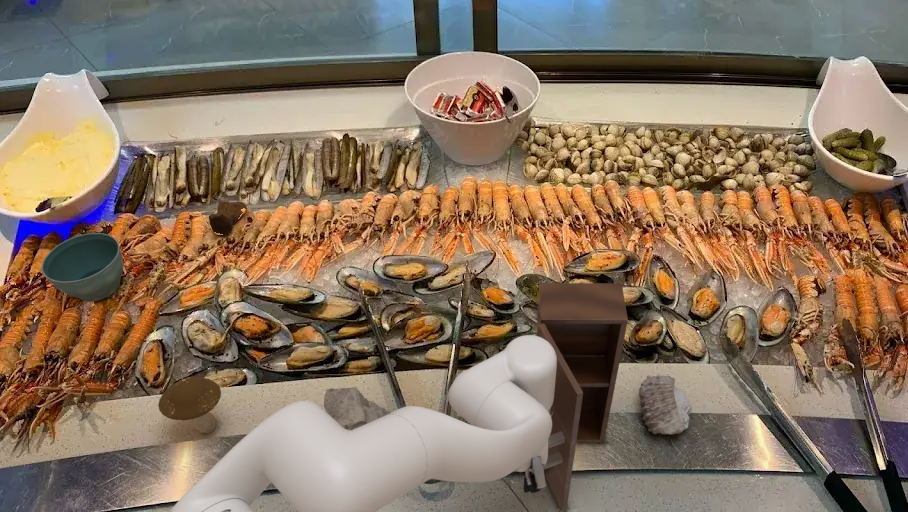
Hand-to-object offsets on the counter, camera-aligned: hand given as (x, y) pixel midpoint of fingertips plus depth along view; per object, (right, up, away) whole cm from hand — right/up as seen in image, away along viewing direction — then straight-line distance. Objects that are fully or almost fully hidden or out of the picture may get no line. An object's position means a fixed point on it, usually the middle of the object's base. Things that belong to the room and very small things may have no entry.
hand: (525, 461), depth 109 cm
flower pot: (-103, +23, +53) cm, 118 cm away
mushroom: (-64, -2, +25) cm, 69 cm away
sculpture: (-79, +39, +70) cm, 113 cm away
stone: (-32, -4, +23) cm, 40 cm away
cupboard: (+9, -2, +26) cm, 28 cm away
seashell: (+29, 0, +28) cm, 41 cm away
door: (+2, -10, +17) cm, 20 cm away
